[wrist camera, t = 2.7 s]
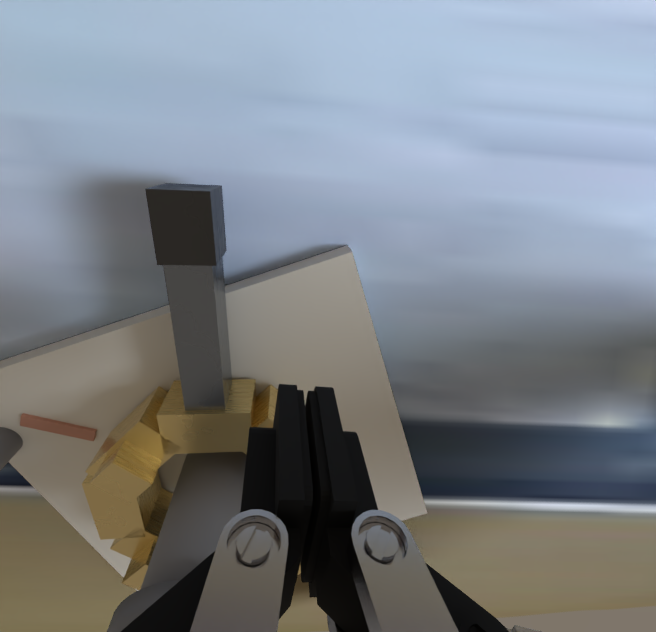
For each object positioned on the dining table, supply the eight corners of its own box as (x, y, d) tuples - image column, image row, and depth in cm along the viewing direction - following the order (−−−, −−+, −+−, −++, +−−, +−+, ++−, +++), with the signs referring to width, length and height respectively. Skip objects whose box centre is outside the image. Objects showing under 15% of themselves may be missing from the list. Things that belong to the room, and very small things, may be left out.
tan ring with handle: (322, 527, 27) (328, 594, 23) (134, 539, 26) (104, 612, 22) (342, 190, 17) (359, 202, 13) (34, 177, 16) (-57, 186, 12)
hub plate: (347, 244, 20) (412, 349, 9) (420, 496, 29) (494, 691, 19) (-43, 374, 21) (-381, 601, 10) (148, 577, 30) (72, 805, 20)
